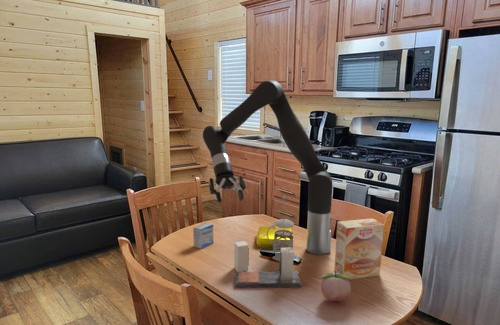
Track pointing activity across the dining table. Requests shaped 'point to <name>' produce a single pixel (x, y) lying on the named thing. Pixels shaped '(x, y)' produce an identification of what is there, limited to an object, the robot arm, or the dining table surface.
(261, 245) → the element tile
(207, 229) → the medicine box
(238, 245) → the block
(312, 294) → the dining table surface
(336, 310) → the dining table surface
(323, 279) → the decorative fruit
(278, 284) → the grey stand
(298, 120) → the robot arm
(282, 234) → the french press
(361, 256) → the coffeecake box
